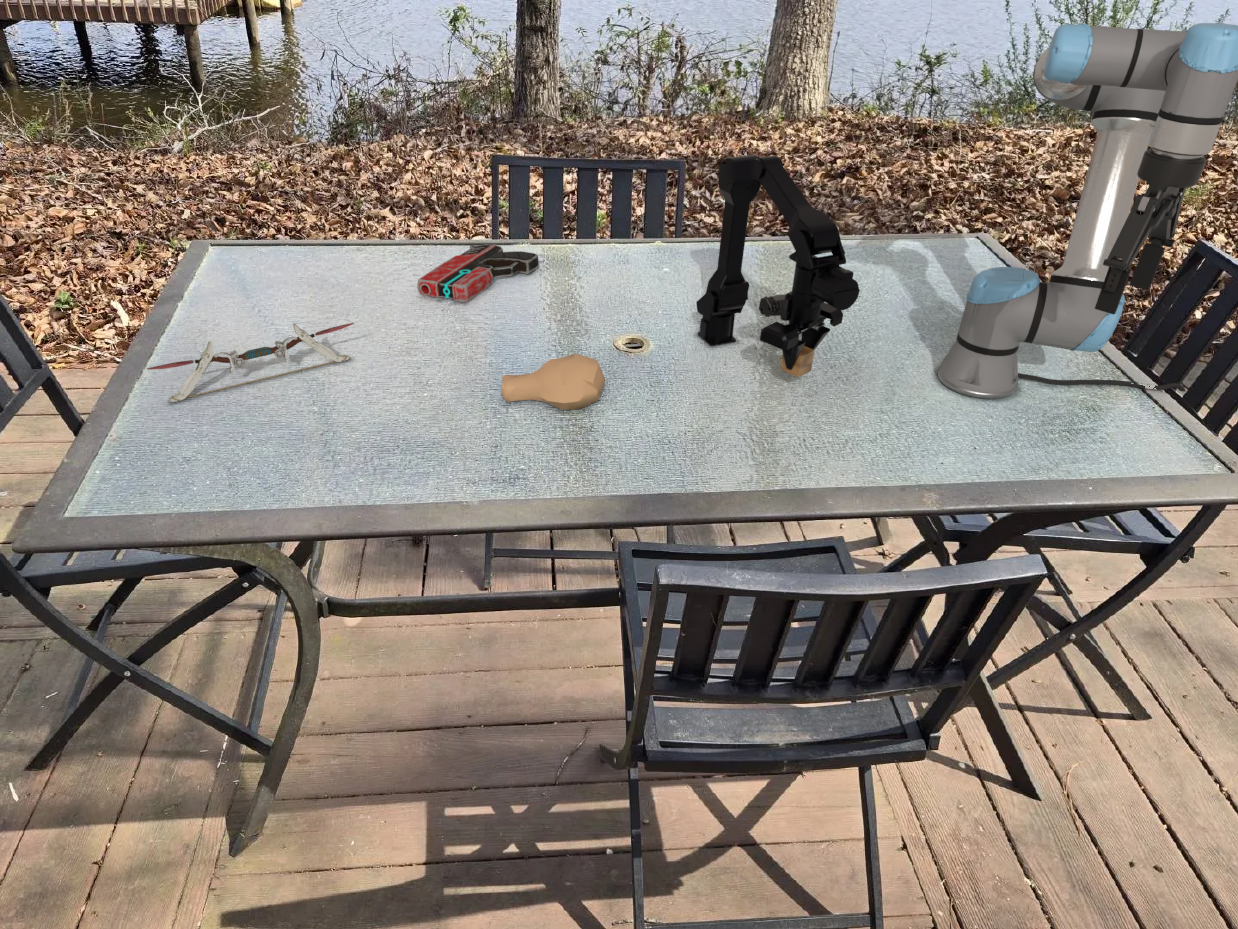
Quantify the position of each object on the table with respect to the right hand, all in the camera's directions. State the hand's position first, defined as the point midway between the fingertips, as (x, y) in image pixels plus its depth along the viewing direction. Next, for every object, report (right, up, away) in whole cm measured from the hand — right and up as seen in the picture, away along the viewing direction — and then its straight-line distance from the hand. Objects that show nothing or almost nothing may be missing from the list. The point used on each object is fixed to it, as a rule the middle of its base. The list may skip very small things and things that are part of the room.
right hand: (1122, 298), depth 130 cm
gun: (-109, +21, +87) cm, 141 cm away
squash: (-88, -13, +38) cm, 96 cm away
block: (-41, -6, +40) cm, 57 cm away
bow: (-145, -8, +42) cm, 151 cm away
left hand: (-41, -5, +39) cm, 57 cm away
